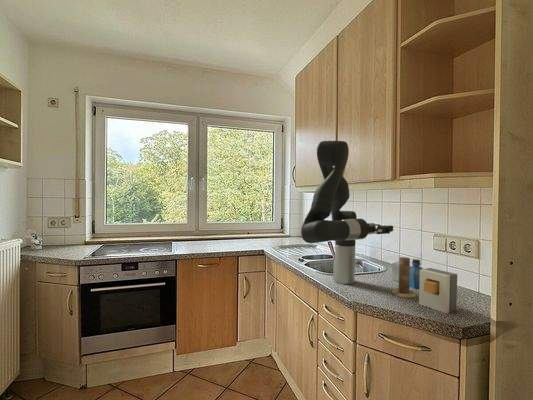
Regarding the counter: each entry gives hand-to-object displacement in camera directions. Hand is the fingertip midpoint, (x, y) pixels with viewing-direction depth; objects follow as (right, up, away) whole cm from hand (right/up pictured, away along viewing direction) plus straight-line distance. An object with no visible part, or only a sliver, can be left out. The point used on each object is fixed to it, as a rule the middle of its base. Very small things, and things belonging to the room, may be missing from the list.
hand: (382, 227), depth 115 cm
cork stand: (+12, -29, +9) cm, 32 cm away
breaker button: (+15, -23, -7) cm, 28 cm away
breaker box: (+18, -29, -6) cm, 34 cm away
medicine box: (+20, -29, +30) cm, 47 cm away
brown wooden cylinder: (+12, -28, +8) cm, 31 cm away
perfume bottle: (+23, -29, +20) cm, 42 cm away
